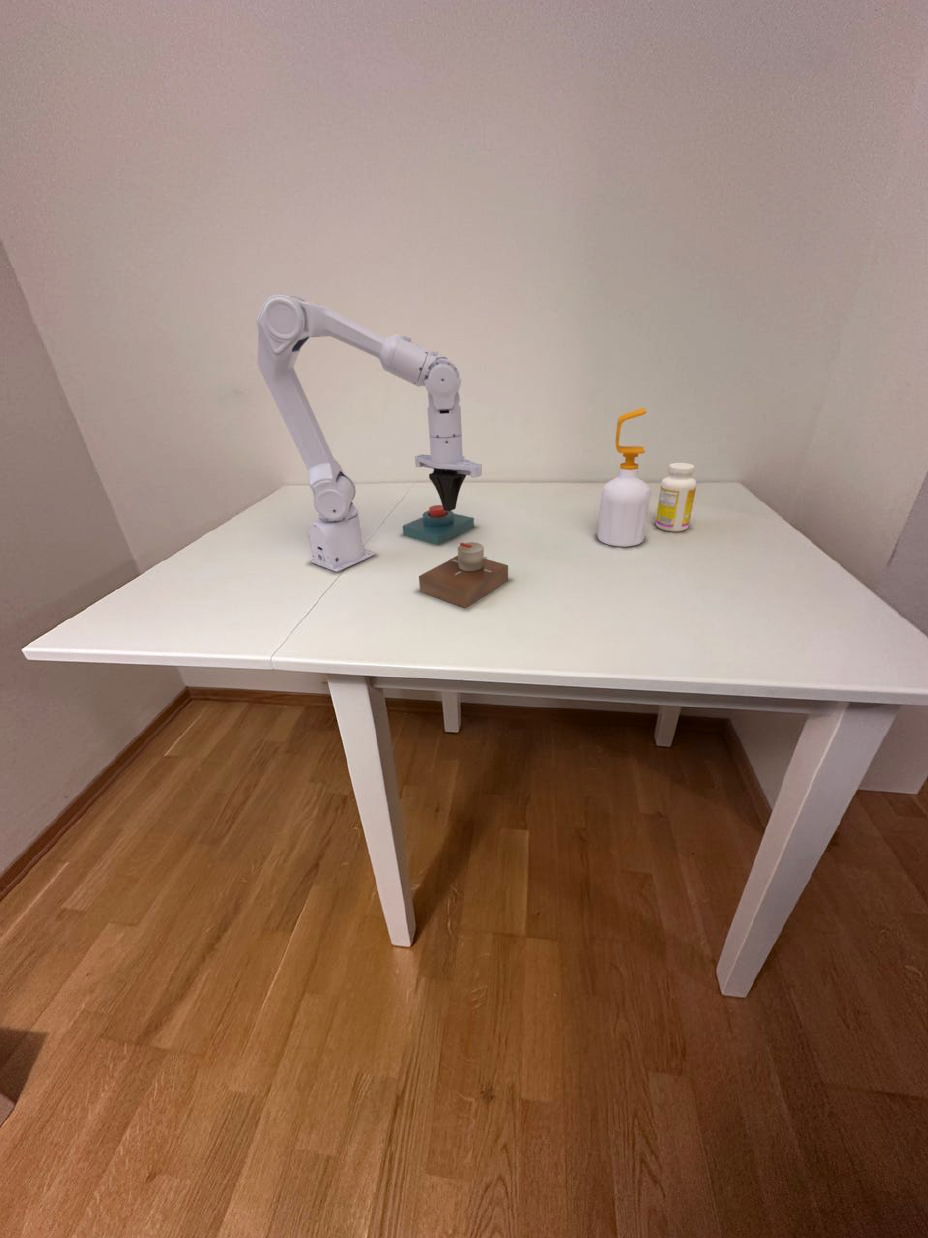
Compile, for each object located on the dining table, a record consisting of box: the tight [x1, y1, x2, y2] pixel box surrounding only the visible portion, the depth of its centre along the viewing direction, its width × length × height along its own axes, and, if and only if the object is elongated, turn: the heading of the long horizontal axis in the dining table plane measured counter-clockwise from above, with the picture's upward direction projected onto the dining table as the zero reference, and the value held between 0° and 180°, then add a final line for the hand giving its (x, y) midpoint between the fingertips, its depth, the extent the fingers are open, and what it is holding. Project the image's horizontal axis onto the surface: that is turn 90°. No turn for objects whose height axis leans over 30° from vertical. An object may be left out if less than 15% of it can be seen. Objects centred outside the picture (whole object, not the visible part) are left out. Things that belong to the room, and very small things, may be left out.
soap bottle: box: [596, 407, 652, 548], centre depth 97 cm, size 9×9×25 cm
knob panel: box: [418, 555, 509, 609], centre depth 88 cm, size 12×10×3 cm
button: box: [428, 504, 446, 517], centre depth 109 cm, size 4×4×2 cm
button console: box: [402, 509, 475, 546], centre depth 110 cm, size 12×10×4 cm
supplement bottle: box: [655, 462, 698, 532], centre depth 104 cm, size 7×7×13 cm
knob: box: [457, 542, 485, 571], centre depth 87 cm, size 4×4×4 cm
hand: (449, 509), depth 97 cm, fingers closed
